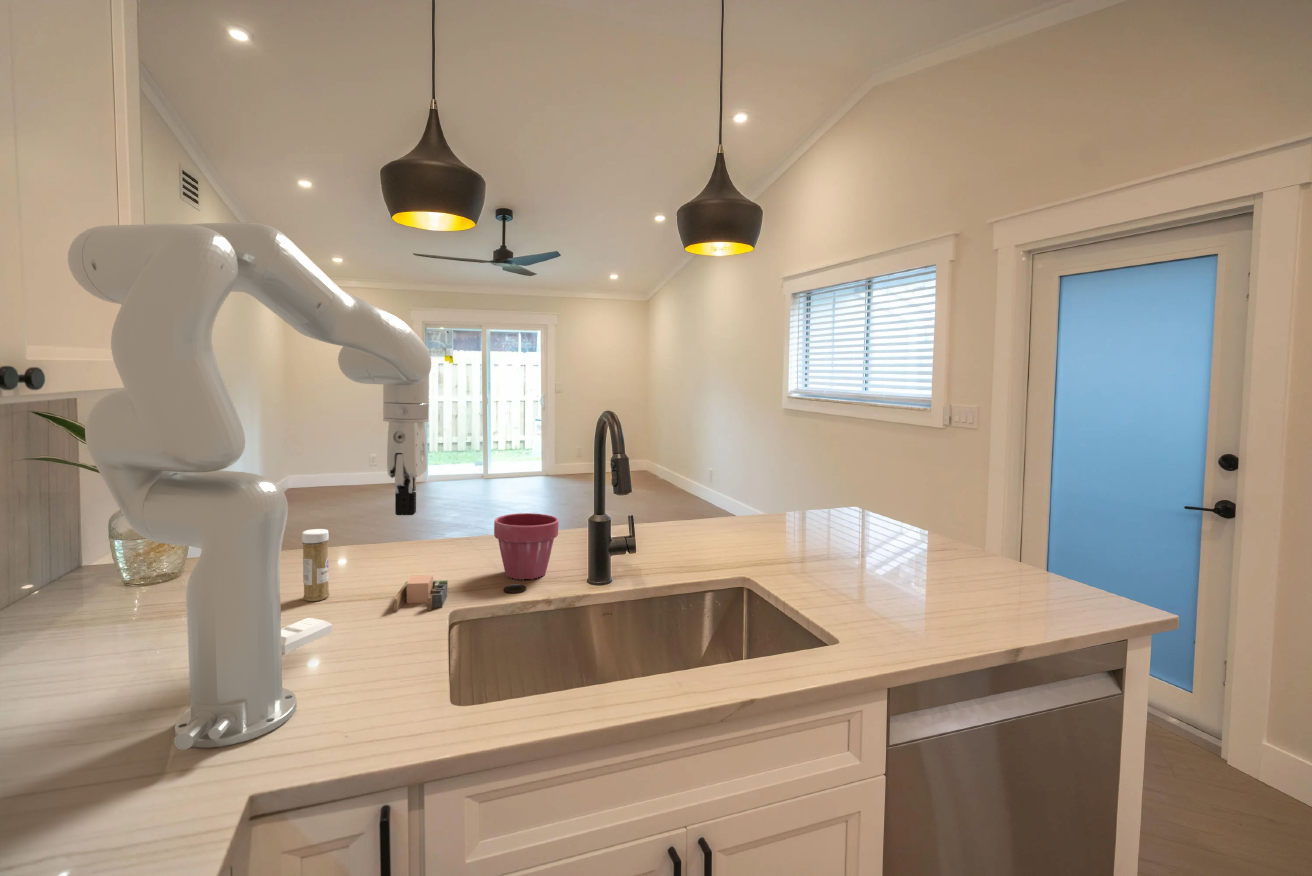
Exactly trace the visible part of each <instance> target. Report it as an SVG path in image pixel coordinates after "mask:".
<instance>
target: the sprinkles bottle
mask: <svg viewBox="0 0 1312 876" xmlns="http://www.w3.org/2000/svg"><path fill="white" fill-rule="evenodd" d="M329 539H330V536H329V530H328V529H325V528H314V529H307V530H304V531H302V532H301V542H302V555H303V557H302V576H303V580H302V582H303V600H304V601H307V602H319V601H321V600H325V599H327V598H329V597H330V591H329V590H330V589H329V587H330V586H329V580H330V579H329V577H330V575H329V570H330V569H329V546H328V545H329V544H328V543H329Z"/></svg>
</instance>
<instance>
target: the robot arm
mask: <svg viewBox="0 0 1312 876" xmlns="http://www.w3.org/2000/svg"><path fill="white" fill-rule="evenodd" d="M67 264H68V267H69V270H70V272H71V274H72V277H73V278H74V280H75V281H76V282H77V283H78V285H79V286H80V287H82V288H83V289H84V290H85V291H86V292H88V293H89V294H90V295H92V296H93V297H96V298H98V299H101V300H103V301H105V302H109V303H111V304H117V305H121V306H120V307H119V310H118V313H117V315H116V317H115V320H114V323H113V327H112V330H111V335H110V336H111V337H110V350H111V355H112V360H113V363H114V365H115V368H116V370H117V373H118V374H119V375H118V376H119V377H120V380H121V383H122V384H123V388H124V389H118V390H115V391H113V392H110V393H108V394H106V395H104V396H102V397H101V398H100V399H99V400H98V401H97V402H95V403H94V405H93V406H92V408H91V409H90V411H89V413H88V415H87V418H86V422H85V429H84V434H85V435H84V436H85V442H86V447H87V450H88V452H89V455H90V457H91V460H92V461H93V463H94V465H95V467H96V468H97V471H98V472H99V474H100V476H101V478H102V479H103V481H104V483H105V484H106V486H107V488H108V490H109V492H110V494H111V496H112V497H113V499H114V501H115V502H116V504H117V506H118V508H119V511H121V513H122V515H123V517H124V518H125V520H126V521H127V523H128V524H129V525H130V527H131V528H132V529H133V530H134V531H135V532H136V533H137V534H138V535H140V536H141V537H143V538H144V539H146V540H149V541H152V542H154V543H158V544H164V545H165V544H166V545H171V546H180V547H181V546H183V547H192V548H196V549H200V550H201V551H200V555H199V557H198V560H197V561H196V563H195V565H194V567H193V569H192V571H191V573H190V575H189V578H188V580H187V585H186V593H185V598H186V599H185V600H186V604H185V605H186V606H185V607H186V622H187V625H186V626H187V644H188V645H187V647H188V648H187V649H188V651H187V652H188V675H189V676H188V677H189V679H188V680H189V703H190V705H189V706H190V708H189V709H187V710H186V711H185V712H184V713H182V715H180V717H179V718H178V719H177V721H176V722H175V725H174V737H175V738H174V743H173V744H174V746H175V747H176V748H177V749H179V750H188V749H190V748H191V747H192V748H199V749H200V748H209V749H210V748H216V747H217V748H219V747H226V746H232V745H235V744H239V743H243V742H244V743H245V742H247V741H250V740H253V739H256V738H258V737H261V736H263V735H265V734H267V733H269V732H271V731H273V730H275V729H277V728H278V727H280V726H281V725H283V724H285V722H287V721H288V720H289V719H290V718H291V717H292V716H293V714H294V713H295V711H296V709H297V697H296V694H295V693H294V692H293V691H292V690H289V689H288V688H285V687H283V671H282V670H283V666H282V665H283V664H282V655H283V654H282V653H281V629H282V625H281V624H282V623H281V621H282V615H281V614H282V612H281V611H282V610H281V608H282V607H281V582H280V581H281V575H280V574H281V556H282V555H281V553H282V545H283V540H284V535H285V530H286V525H287V522H288V514H289V503H288V498H287V497H286V494H285V492H284V490H283V489H282V488H281V487H280V485H278V484H277V483H276V482H274V481H273V480H272V479H270V478H268V477H265V476H262V475H260V474H257V473H252V472H245V471H235V470H234V471H231V470H224V469H227V468H228V467H231V466H232V465H234V464H235V463H237V462H238V461H239V460H240V458H241V457H242V455H243V453H244V450H245V449H246V438H245V437H246V436H245V430H244V427H243V425H242V422H241V419H240V416H239V414H238V411H237V409H236V407H235V404H234V401H233V399H232V397H231V394H230V392H229V389H228V386H227V385H226V382H225V380H224V377H223V373H222V372H221V370H220V367H219V364H218V361H217V359H216V356H215V355H216V354H215V352H214V349H213V348H214V347H213V329H214V324H215V322H216V319H217V316H218V314H219V313H220V310H221V308H222V307H223V305H224V303H225V301H226V300H227V299H228V297H229V295H230V294H231V293H232V292H233V293H234V292H236V293H237V292H238V293H239V292H241V293H244V294H248V295H250V296H252V297H253V299H256V300H257V301H258V302H259V303H260V304H262V305H263V306H265V307H266V308H267V309H268V310H270V311H271V312H272V313H274V314H275V315H276V316H277V317H279V318H280V319H281V320H282V321H284V322H285V323H286V324H288V325H289V326H290V327H292V328H293V330H295V331H297V332H298V333H300V334H302V335H303V336H305V337H307V338H311V339H314V340H317V341H319V342H323V343H327V344H330V345H334V346H339V347H340V346H341V348H340V350H339V353H338V357H337V360H338V361H337V363H338V367H339V370H340V371H341V372H342V374H343V375H344V376H345V377H347V378H348V379H349V380H350V381H353V382H355V383H359V384H364V385H365V384H366V385H367V384H368V385H382V400H383V401H382V421H383V422H386V423H387V422H388V427H387V428H388V430H387V445H386V447H387V448H386V449H387V450H386V453H387V454H386V468H387V469H386V470H387V475H388V477H389V478H392V479H393V478H394V488H395V493H394V495H395V500H394V501H395V505H394V506H395V507H394V509H395V511H394V514H395V515H396V516H414V515H415V514H416V513H417V491H416V490H417V478H418V477H420V476H421V475H423V474H424V473H425V472H426V471H427V469H428V467H427V462H428V461H427V440H426V426H425V423H428V422H429V421H430V420H429V406H430V405H429V403H430V402H429V400H430V399H429V397H430V396H429V395H430V393H429V391H430V390H429V389H430V388H429V387H430V382H429V381H430V378H429V377H430V373H431V369H432V358H431V354H430V352H429V350H428V347H427V346H426V344H425V343H424V341H423V339H421V338H420V336H419V335H418V334H417V333H416V332H415V330H413V329H412V328H411V327H410V326H409V325H408V324H407V323H406V322H405V321H403V320H402V319H400V318H399V317H397V315H394V314H392V313H390V312H389V311H386V310H384V309H382V308H380V307H378V306H376V305H374V304H371V303H370V302H368V301H366V300H364V299H362V298H360V297H357V296H355V295H353V294H350V293H348V292H346V291H344V290H343V289H341V287H339V286H338V285H337V283H335V282H334V281H333V280H332V279H331V278H330V277H329V276H328V275H327V274H326V273H325V271H323V270H322V269H321V268H320V267H319V266H318V265H317V264H316V263H314V262H313V260H312V259H311V258H309V257H308V256H307V255H306V254H305V253H304V251H302V250H301V249H300V248H299V246H297V245H296V244H295V243H294V242H293V241H292V240H291V239H290V238H289V237H288V236H287V235H285V234H284V233H283V232H282V231H280V230H279V229H276V228H275V227H273V226H271V225H268V224H264V223H261V222H260V223H259V222H244V221H243V222H242V221H241V222H210V223H209V222H208V223H205V222H204V223H203V222H200V223H189V224H187V223H147V224H145V223H144V224H114V225H113V224H111V225H109V224H108V225H99V226H94V227H90V228H87V229H86V230H83V231H82V232H81V233H79V234H78V235H77V236H76V237H75V238H74V239H73V241H72V242H71V244H70V245H69V248H68V253H67Z"/></svg>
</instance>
